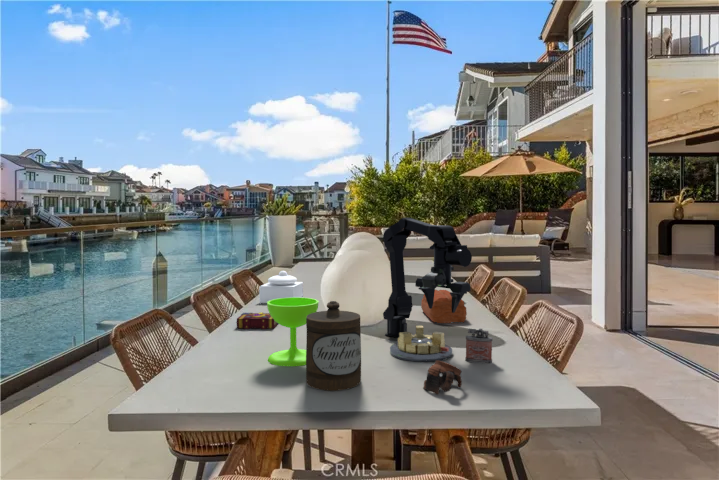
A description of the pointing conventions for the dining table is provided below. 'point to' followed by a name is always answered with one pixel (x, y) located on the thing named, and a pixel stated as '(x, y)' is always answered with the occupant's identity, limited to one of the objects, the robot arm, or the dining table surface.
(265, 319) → the decorative book
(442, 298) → the bread
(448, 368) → the brown leather rounded piece
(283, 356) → the wineglass
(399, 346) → the tan segmented ring
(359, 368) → the wooden container
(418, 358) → the grey round tray
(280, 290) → the white lidded box
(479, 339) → the lighter
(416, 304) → the dining table surface
